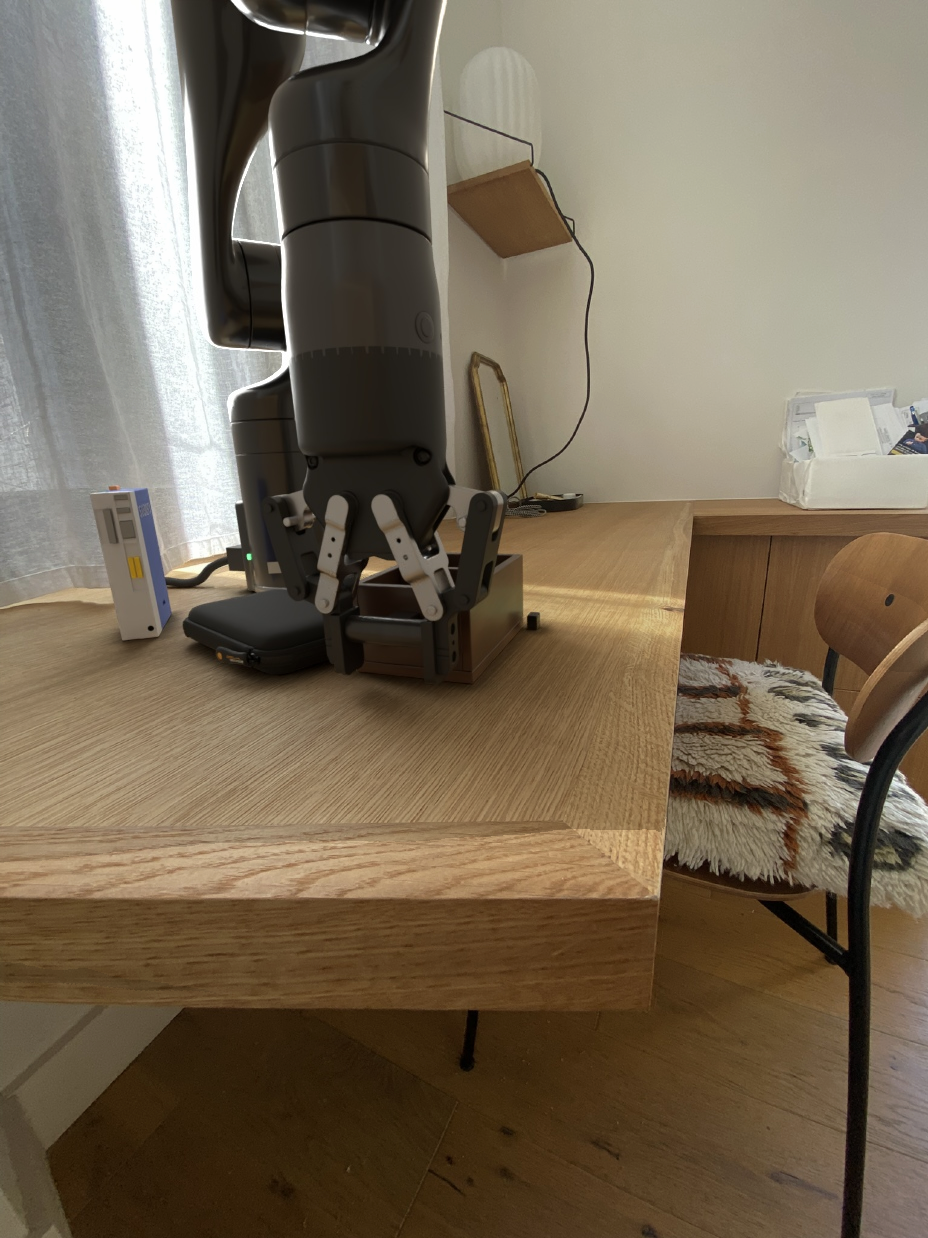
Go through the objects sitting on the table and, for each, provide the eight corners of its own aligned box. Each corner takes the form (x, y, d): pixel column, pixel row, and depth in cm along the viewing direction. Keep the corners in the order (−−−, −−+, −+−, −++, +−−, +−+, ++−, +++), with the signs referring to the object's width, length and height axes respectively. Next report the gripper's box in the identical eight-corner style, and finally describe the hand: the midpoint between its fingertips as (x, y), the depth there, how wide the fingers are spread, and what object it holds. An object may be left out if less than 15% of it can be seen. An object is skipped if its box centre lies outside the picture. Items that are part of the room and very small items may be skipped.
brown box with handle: (453, 706, 30) (447, 604, 29) (328, 691, 33) (317, 596, 32) (523, 626, 44) (522, 553, 42) (431, 620, 47) (427, 551, 45)
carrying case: (163, 646, 43) (253, 694, 33) (155, 608, 42) (245, 646, 32) (287, 615, 50) (391, 647, 41) (283, 582, 50) (388, 607, 40)
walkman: (139, 617, 52) (111, 485, 49) (172, 613, 53) (146, 483, 49) (120, 641, 45) (85, 489, 41) (158, 637, 46) (128, 487, 42)
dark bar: (415, 622, 47) (414, 608, 46) (421, 618, 48) (420, 605, 47) (536, 631, 43) (536, 616, 43) (540, 626, 44) (540, 612, 44)
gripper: (527, 350, 28) (529, 663, 33) (293, 376, 33) (324, 644, 38) (479, 320, 22) (490, 718, 26) (195, 357, 27) (248, 686, 31)
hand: (392, 673), depth 32 cm, fingers closed on brown box with handle, 5 cm apart
